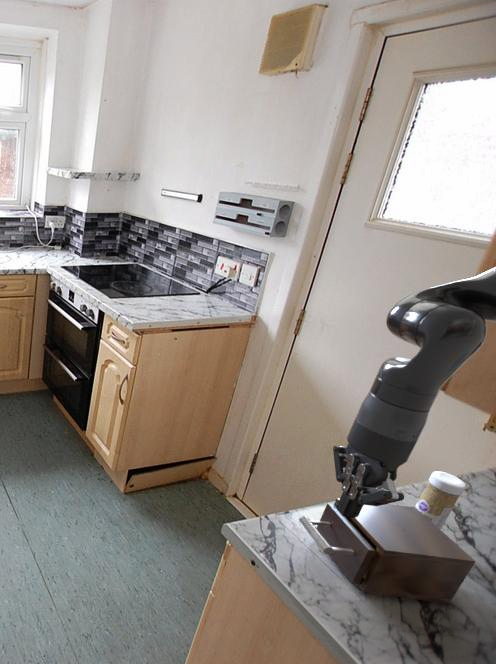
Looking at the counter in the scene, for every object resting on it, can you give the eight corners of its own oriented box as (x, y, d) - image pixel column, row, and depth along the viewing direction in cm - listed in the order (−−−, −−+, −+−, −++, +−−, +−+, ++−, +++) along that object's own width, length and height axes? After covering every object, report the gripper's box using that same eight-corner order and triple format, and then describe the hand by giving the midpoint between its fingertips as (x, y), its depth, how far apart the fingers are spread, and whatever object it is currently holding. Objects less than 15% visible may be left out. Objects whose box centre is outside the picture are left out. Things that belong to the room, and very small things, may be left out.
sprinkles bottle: (397, 527, 89) (426, 471, 84) (414, 524, 90) (444, 469, 85) (423, 546, 85) (455, 488, 80) (440, 543, 86) (473, 485, 81)
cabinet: (362, 592, 74) (384, 550, 71) (319, 536, 85) (336, 497, 82) (449, 603, 73) (475, 561, 70) (394, 546, 84) (415, 507, 81)
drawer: (320, 580, 74) (336, 546, 72) (285, 531, 84) (298, 499, 82) (431, 594, 74) (451, 560, 71) (383, 543, 83) (399, 511, 81)
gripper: (450, 454, 63) (399, 549, 70) (380, 405, 76) (342, 489, 82) (395, 448, 64) (349, 542, 70) (334, 400, 76) (299, 484, 82)
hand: (345, 514), depth 76 cm, fingers closed
